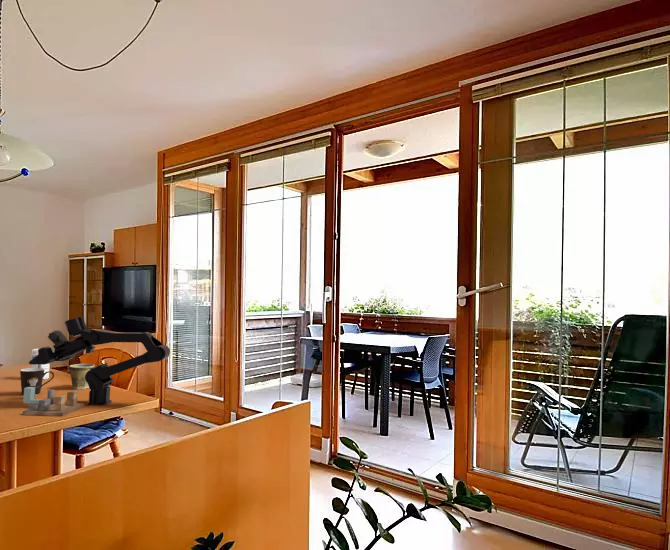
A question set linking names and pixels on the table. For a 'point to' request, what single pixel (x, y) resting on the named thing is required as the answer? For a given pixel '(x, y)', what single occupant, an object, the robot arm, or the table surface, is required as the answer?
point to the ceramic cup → (79, 375)
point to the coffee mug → (33, 378)
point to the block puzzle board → (55, 405)
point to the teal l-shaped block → (30, 395)
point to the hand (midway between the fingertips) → (36, 361)
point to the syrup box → (46, 366)
